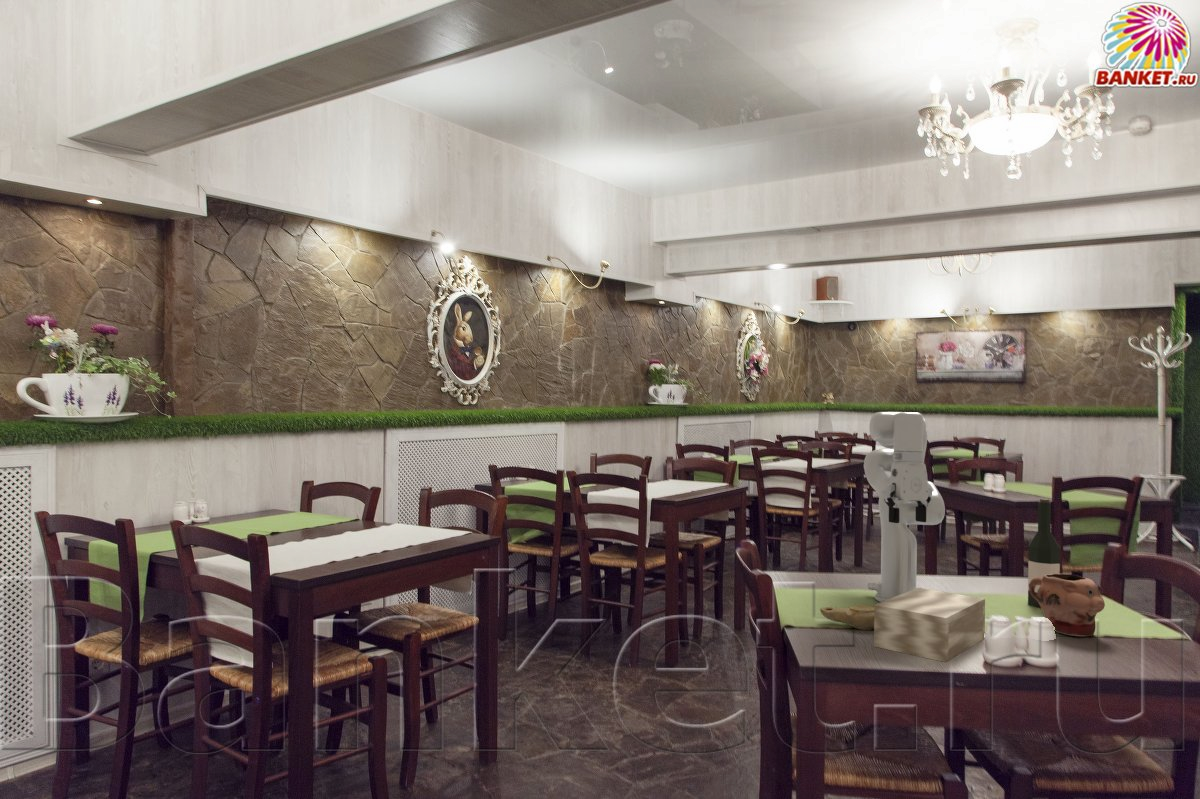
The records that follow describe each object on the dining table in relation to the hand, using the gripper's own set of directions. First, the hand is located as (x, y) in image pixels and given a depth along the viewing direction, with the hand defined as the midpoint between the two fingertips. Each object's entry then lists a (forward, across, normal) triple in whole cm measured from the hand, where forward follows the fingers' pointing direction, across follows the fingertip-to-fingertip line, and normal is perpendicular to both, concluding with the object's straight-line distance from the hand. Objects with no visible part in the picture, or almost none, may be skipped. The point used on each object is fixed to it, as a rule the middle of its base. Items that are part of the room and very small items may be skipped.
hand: (907, 522), depth 215 cm
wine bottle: (+24, +45, -7) cm, 52 cm away
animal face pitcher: (+25, +25, -27) cm, 44 cm away
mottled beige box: (+25, -15, -22) cm, 36 cm away
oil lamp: (+25, -22, -4) cm, 34 cm away
